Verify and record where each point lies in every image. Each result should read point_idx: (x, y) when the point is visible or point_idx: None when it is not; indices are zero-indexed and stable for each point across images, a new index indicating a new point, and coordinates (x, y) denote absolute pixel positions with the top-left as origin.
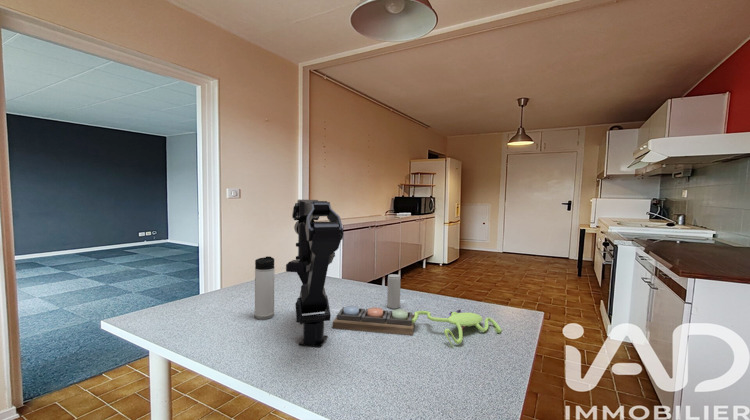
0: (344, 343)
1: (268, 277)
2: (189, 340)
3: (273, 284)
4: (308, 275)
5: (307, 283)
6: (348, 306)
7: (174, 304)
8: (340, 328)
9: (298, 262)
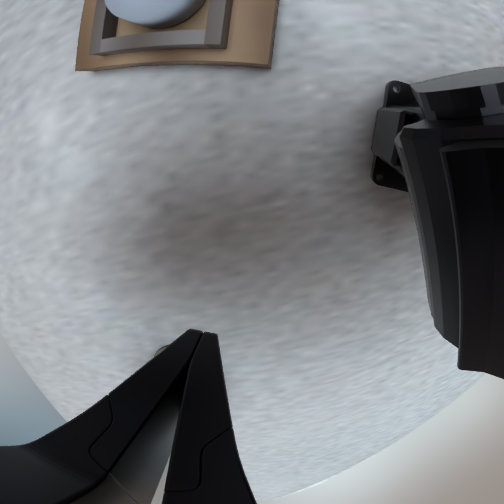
0: (431, 13)
1: (159, 497)
2: (357, 440)
3: None
4: (252, 497)
5: (222, 389)
6: (118, 3)
7: None
8: (275, 27)
9: None
